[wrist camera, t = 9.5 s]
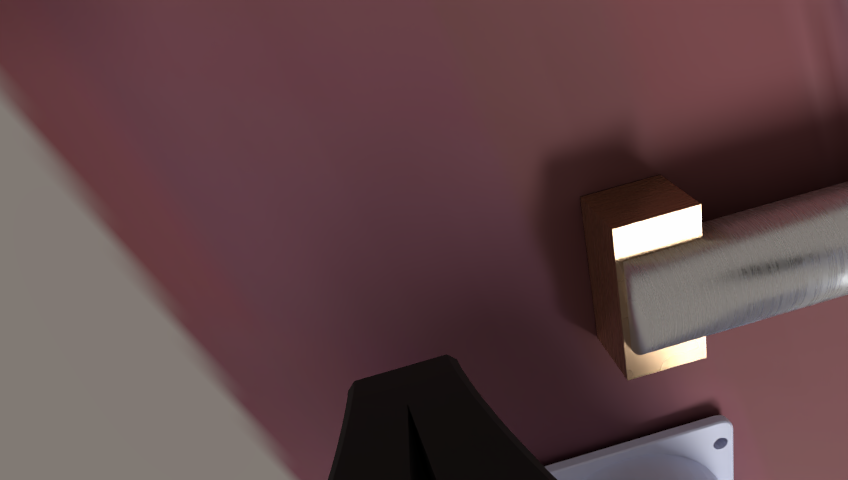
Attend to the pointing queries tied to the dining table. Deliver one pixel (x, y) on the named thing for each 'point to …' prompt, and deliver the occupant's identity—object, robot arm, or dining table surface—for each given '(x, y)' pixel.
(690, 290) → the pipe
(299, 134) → the dining table surface
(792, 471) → the dining table surface
